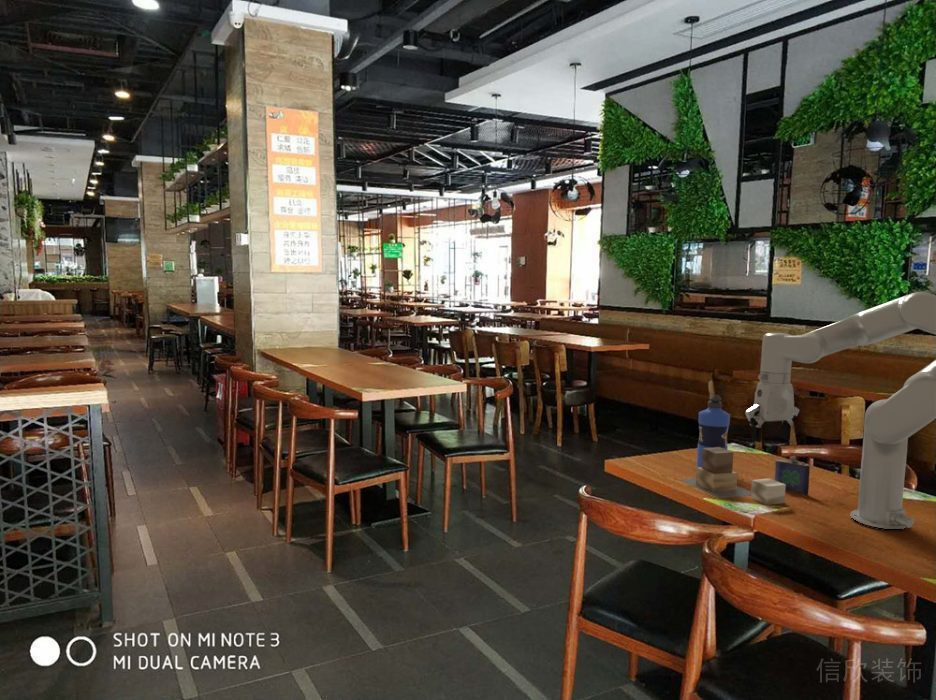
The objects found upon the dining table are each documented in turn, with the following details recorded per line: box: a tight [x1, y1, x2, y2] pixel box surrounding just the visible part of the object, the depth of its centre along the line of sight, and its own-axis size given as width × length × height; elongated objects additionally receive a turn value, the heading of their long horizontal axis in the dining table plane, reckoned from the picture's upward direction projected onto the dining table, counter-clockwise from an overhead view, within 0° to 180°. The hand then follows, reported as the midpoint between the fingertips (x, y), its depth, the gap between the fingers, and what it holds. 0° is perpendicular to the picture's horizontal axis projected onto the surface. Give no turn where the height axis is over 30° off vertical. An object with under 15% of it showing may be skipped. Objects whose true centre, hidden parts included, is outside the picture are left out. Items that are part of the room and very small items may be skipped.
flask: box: [774, 455, 811, 496], centre depth 194 cm, size 9×3×11 cm, turn 50°
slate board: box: [680, 477, 751, 499], centre depth 196 cm, size 18×13×1 cm
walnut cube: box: [702, 447, 734, 474], centre depth 195 cm, size 6×6×6 cm
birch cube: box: [750, 477, 786, 506], centre depth 184 cm, size 6×6×6 cm
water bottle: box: [696, 394, 731, 469], centre depth 213 cm, size 9×9×25 cm
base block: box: [695, 467, 738, 492], centre depth 195 cm, size 8×8×5 cm
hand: (770, 440), depth 183 cm, fingers open, 9 cm apart
